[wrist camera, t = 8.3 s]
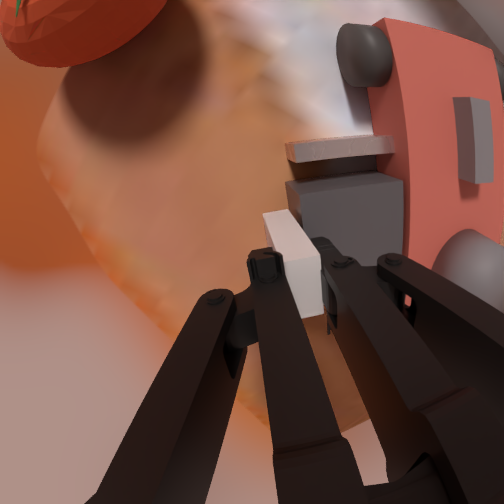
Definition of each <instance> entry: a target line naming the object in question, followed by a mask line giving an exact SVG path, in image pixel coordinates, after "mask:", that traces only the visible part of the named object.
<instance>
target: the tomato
mask: <svg viewBox="0 0 504 504" xmlns="http://www.w3.org/2000/svg"><path fill="white" fill-rule="evenodd" d="M166 2H167V0H2V2H1V6H0V32H1V35H2V37H3V39H4V42H5V44H6V46H7V47H8V48H9V49H10V50H11V51H12V52H13V53H14V54H15V55H16V56H17V57H18V58H19V59H21V60H24V61H26V62H28V63H31V64H34V65H37V66H42V67H57V68H61V67H68V66H75V65H79V64H83V63H86V62H89V61H92V60H95V59H98V58H100V57H102V56H104V55H106V54H108V53H111V52H112V51H114V50H116V49H117V48H119V47H120V46H122V45H124V44H125V43H127V42H128V41H129V40H131V39H132V38H133V37H134V36H136V35H137V34H138V33H140V32H141V31H142V30H143V29H144V28H145V27H146V26H147V25H148V24H149V23H150V22H151V21H152V20H153V19H154V18H155V17H156V15H157V14H158V13H159V12H160V11H161V9H162V8H163V7H164V5H165V3H166Z"/></svg>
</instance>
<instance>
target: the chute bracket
mask: <svg viewBox="0 0 504 504" xmlns="http://www.w3.org/2000/svg"><path fill="white" fill-rule="evenodd" d="M285 147H286V153H287V159H288V160H291V161H293V162H295V163H300V162H308V161H315V160H323V159H332V158H341V157H351V156H361V155H373V154H386V153H395V149H394V139H393V136H386V135H359V136H345V137H334V138H323V139H314V140H305V141H297V142H289V143H285ZM323 304H324V303H323Z"/></svg>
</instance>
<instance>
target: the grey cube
mask: <svg viewBox="0 0 504 504" xmlns="http://www.w3.org/2000/svg"><path fill="white" fill-rule="evenodd" d="M285 185H286V192H287V199H288V206H289V211H290V213H291V214H292V215H293V217H294V218H295V220H296V221H297V222H298V224H299V225H300V227H301V228H302V229H303V231H304V232H305V234H306V235H307V236H308V238H309V239H310V238H316V237H321V236H322V237H325V238H327V239H329V240H330V241H331V242H332V243H333V245H334V246H335V247H336V248H337V249H338V250H339V252H340V253H341V254H342V255H343V256H349V257H353V258H354V259H356V260H357V261H358V262H359V264H360V265H361V266H377V259H378V257H379V256H381V255H383V254H387V253H397V254H401V255H402V245H403V212H404V201H403V181H402V180H400V179H397V178H394V177H391V176H388V175H385V174H382V173H379V172H376V171H373V170H370V171H361V172H352V173H344V174H336V175H328V176H321V177H313V178H307V179H300V180H293V181H287V182H285Z"/></svg>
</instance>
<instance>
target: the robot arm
mask: <svg viewBox="0 0 504 504" xmlns="http://www.w3.org/2000/svg"><path fill="white" fill-rule="evenodd" d="M263 220H264V225H265V231H266V237H267V243H268V247H267V248H262V249H257V250H252V251H251V252H250V254H249V255H248V259H247V267H248V272H249V276H250V281H251V284H250V286H249V287H248V288H247V289H246V290H244V291H243V292H241V293H238V294H236V295H234V294H233V293H232V291H230V290H228V289H214V290H210V291H208V292H206V293H205V294H203V295H202V296H201V297H200V298H199V299H198V301H197V303H196V305H195V306H194V308H193V310H192V312H191V314H190V315H189V317H188V319H187V321H186V322H185V324H184V326H183V328H182V330H181V331H180V333H179V335H178V337H177V339H176V341H175V342H174V344H173V346H172V348H171V350H170V351H169V353H168V355H167V357H166V359H165V361H164V362H163V364H162V366H161V368H160V370H159V372H158V374H157V375H156V377H155V379H154V381H153V383H152V385H151V387H150V388H149V390H148V392H147V394H146V396H145V398H144V400H143V402H142V403H141V405H140V407H139V409H138V411H137V413H136V415H135V417H134V419H133V421H132V423H131V425H130V426H129V428H128V430H127V432H126V434H125V436H124V438H123V440H122V442H121V444H120V446H119V448H118V450H117V452H116V454H115V456H114V458H113V460H112V462H111V464H110V466H109V468H108V470H107V472H106V474H105V476H104V478H103V480H102V482H101V484H100V486H99V488H98V490H97V492H96V493H95V494H94V495H93V496H92V497H91V498H90V499H89V500H88V501H87V502H86V503H85V504H205V501H206V498H207V494H208V491H209V488H210V484H211V481H212V477H213V474H214V471H215V467H216V464H217V461H218V457H219V454H220V450H221V446H222V443H223V439H224V436H225V432H226V429H227V425H228V422H229V418H230V414H231V411H232V407H233V404H234V400H235V396H236V393H237V389H238V385H239V381H240V378H241V374H242V370H243V366H244V363H245V359H246V355H247V346H249V345H251V344H254V343H256V342H258V341H259V349H260V356H261V364H262V371H263V378H264V386H265V393H266V400H267V408H268V415H269V422H270V429H271V436H272V443H273V466H274V474H275V481H276V489H277V496H278V503H279V504H504V313H502V312H501V311H499V310H498V309H496V308H494V307H493V306H491V305H490V304H488V303H486V302H485V301H483V300H482V299H480V298H478V297H477V296H475V295H473V294H472V293H470V292H468V291H467V290H465V289H463V288H462V287H460V286H458V285H457V284H455V283H453V282H451V281H450V280H448V279H446V278H444V277H443V276H441V275H439V274H437V273H436V272H434V271H432V270H430V269H428V268H426V267H425V266H423V265H421V264H419V263H417V262H415V261H414V260H412V259H410V258H408V257H406V256H404V255H401V254H397V253H387V254H383V255H381V256H379V257H378V259H377V266H361V265H360V264H359V262H358V261H357V260H356V259H354V258H353V257H349V256H343V255H342V254H341V253H340V252H339V250H338V249H337V248H336V247H335V246H334V245H333V243H332V242H331V241H330V240H329V239H327V238H325V237H322V236H321V237H316V238H310V239H309V238H308V236H307V235H306V234H305V232H304V231H303V229H302V228H301V227H300V225H299V224H298V222H297V221H296V220H295V218H294V217H293V215H292V214H291V213H290V211H289V210H288V209H285V210H279V211H274V212H268V213H263ZM406 295H408V296H409V297H411V305H410V306H408V305H406V304H405V298H406ZM323 303H324V304H323ZM324 305H325V307H326V309H327V333H328V335H329V334H330V330H332V332H333V334H334V336H335V338H336V341H337V343H338V345H339V347H340V349H341V352H342V354H343V356H344V358H345V361H346V363H347V365H348V367H349V370H350V372H351V374H352V376H353V379H354V381H355V383H356V386H357V388H358V390H359V393H360V395H361V397H362V400H363V402H364V405H365V407H366V409H367V412H368V414H369V417H370V419H371V421H372V424H373V426H374V429H375V431H376V434H377V436H378V439H379V441H380V444H381V446H382V449H383V451H384V454H385V457H386V472H387V477H388V481H389V483H383V484H376V485H368V486H364V485H363V482H362V479H361V475H360V472H359V469H358V466H357V463H356V460H355V457H354V454H353V451H352V449H351V446H350V444H349V442H348V440H347V439H346V438H344V437H342V435H341V433H340V430H339V427H338V424H337V421H336V418H335V415H334V412H333V409H332V406H331V403H330V400H329V397H328V394H327V391H326V388H325V385H324V382H323V379H322V376H321V373H320V371H319V368H318V365H317V362H316V359H315V356H314V353H313V350H312V347H311V345H310V342H309V339H308V336H307V333H306V330H305V328H304V325H303V322H302V318H307V317H312V316H316V315H320V314H324Z"/></svg>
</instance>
